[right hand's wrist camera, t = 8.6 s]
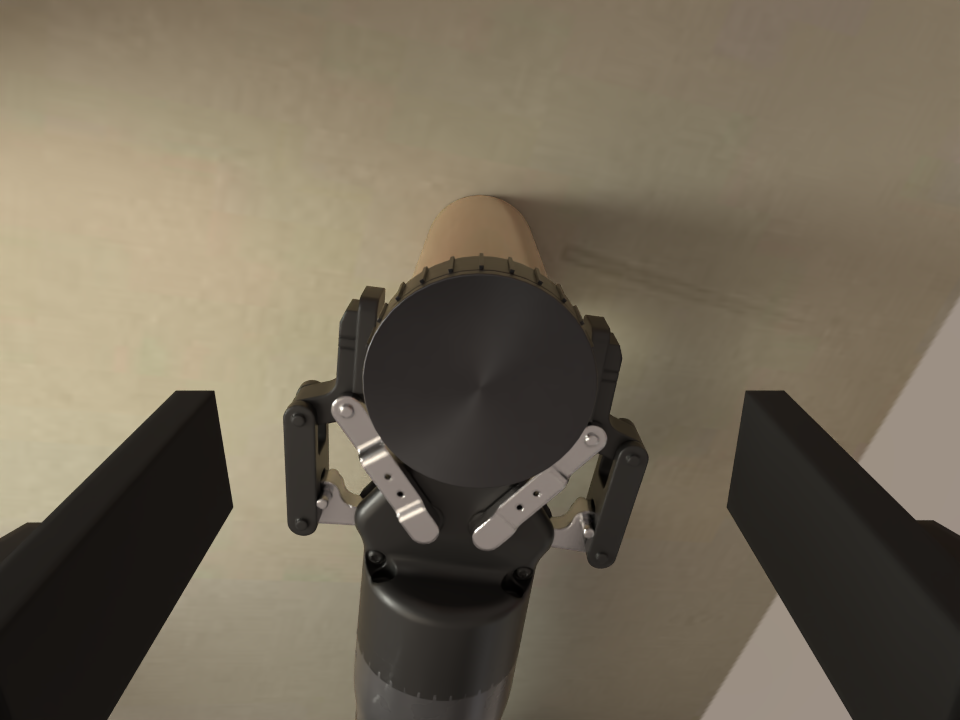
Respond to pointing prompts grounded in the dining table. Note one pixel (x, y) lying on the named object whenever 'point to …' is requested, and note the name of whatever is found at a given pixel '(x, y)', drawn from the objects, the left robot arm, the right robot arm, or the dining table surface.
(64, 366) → the dining table surface
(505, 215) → the jar
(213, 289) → the dining table surface
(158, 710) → the dining table surface
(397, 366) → the lid
